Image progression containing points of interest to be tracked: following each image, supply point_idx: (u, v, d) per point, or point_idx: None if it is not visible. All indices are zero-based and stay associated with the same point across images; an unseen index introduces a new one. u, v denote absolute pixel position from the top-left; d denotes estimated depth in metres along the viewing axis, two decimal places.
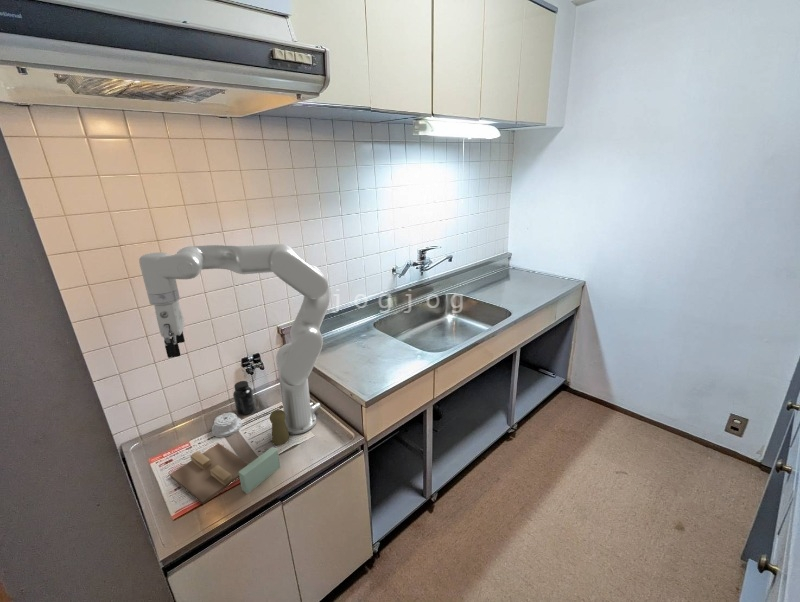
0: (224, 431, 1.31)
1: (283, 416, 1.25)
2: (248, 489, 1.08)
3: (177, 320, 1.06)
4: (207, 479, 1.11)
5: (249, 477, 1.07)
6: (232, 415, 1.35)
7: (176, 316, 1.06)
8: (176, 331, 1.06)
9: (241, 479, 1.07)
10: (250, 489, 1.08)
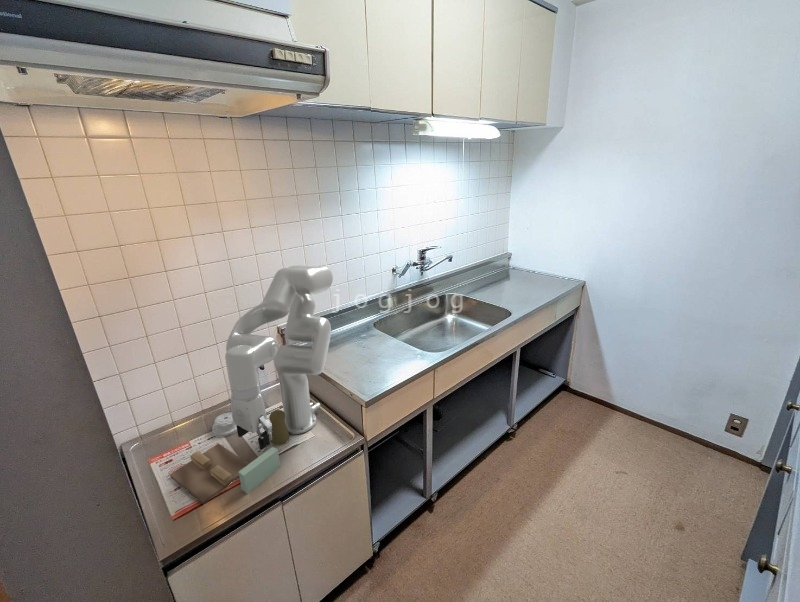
0: (224, 431, 1.31)
1: (283, 416, 1.25)
2: (248, 489, 1.08)
3: (232, 410, 1.04)
4: (207, 479, 1.11)
5: (249, 477, 1.07)
6: None
7: (232, 406, 1.03)
8: None
9: (241, 479, 1.07)
10: (250, 489, 1.08)
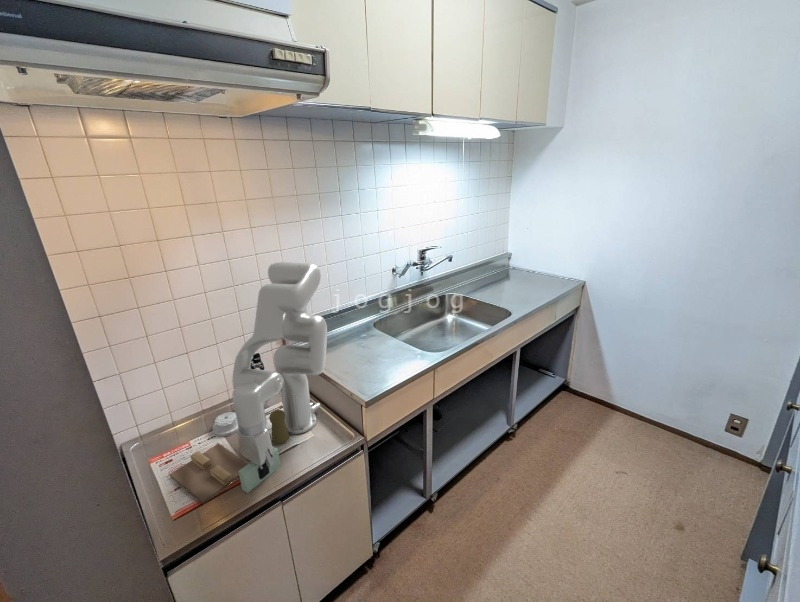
0: (225, 431, 1.31)
1: (283, 416, 1.25)
2: (248, 489, 1.08)
3: (240, 443, 1.08)
4: (207, 479, 1.11)
5: (249, 476, 1.07)
6: (233, 414, 1.35)
7: (239, 439, 1.08)
8: None
9: (241, 478, 1.07)
10: (250, 488, 1.08)
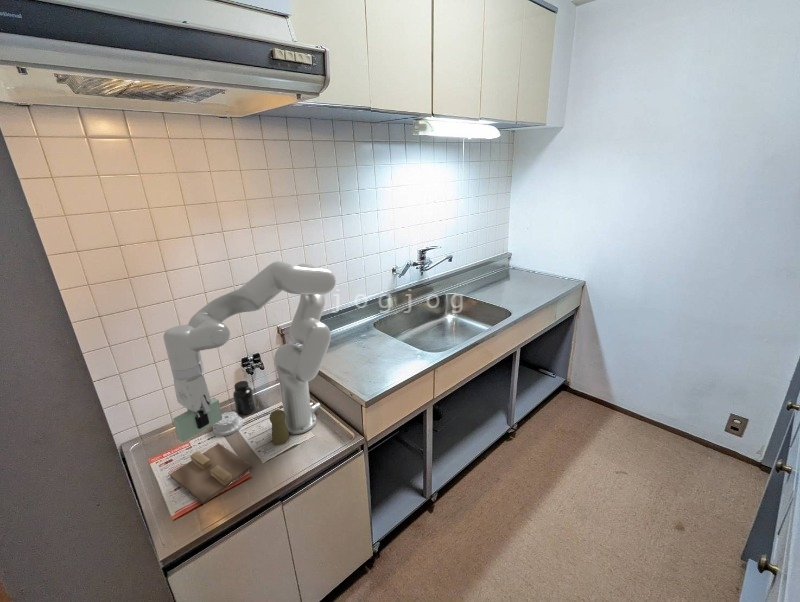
0: (225, 430, 1.31)
1: (283, 416, 1.25)
2: (184, 438, 1.04)
3: (176, 390, 1.04)
4: (207, 479, 1.11)
5: (184, 424, 1.03)
6: (233, 414, 1.35)
7: (175, 386, 1.04)
8: None
9: (176, 426, 1.03)
10: (186, 437, 1.04)
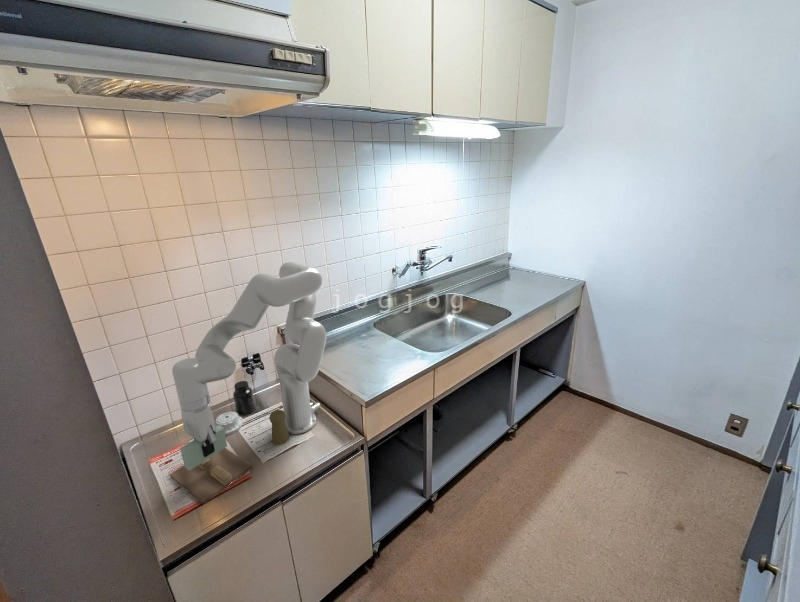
0: (225, 430, 1.31)
1: (283, 416, 1.25)
2: (190, 466, 1.07)
3: (183, 419, 1.08)
4: (207, 479, 1.11)
5: (191, 453, 1.07)
6: (233, 414, 1.35)
7: (182, 416, 1.07)
8: None
9: (183, 455, 1.06)
10: (192, 465, 1.08)
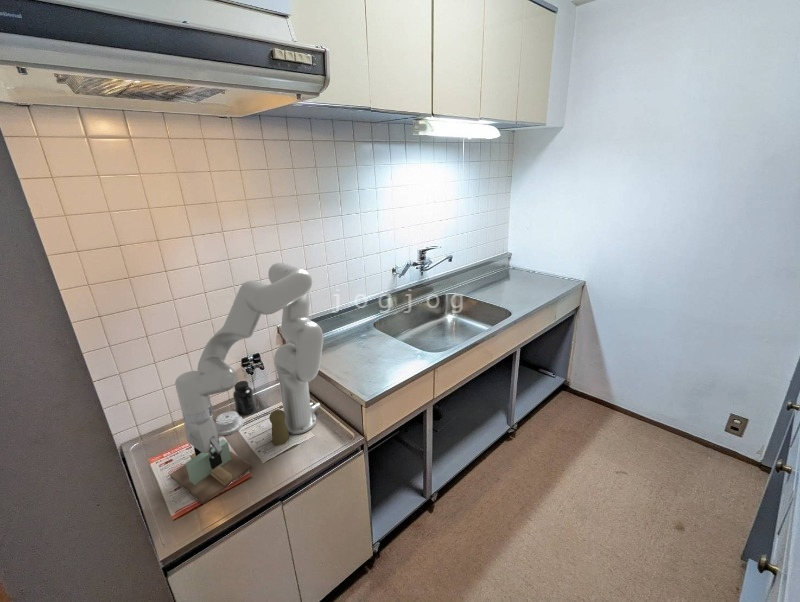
0: (226, 430, 1.31)
1: (283, 416, 1.25)
2: (195, 480, 1.09)
3: (186, 431, 1.09)
4: (207, 479, 1.11)
5: (196, 468, 1.09)
6: (234, 413, 1.35)
7: (185, 427, 1.09)
8: None
9: (188, 470, 1.08)
10: (197, 480, 1.10)
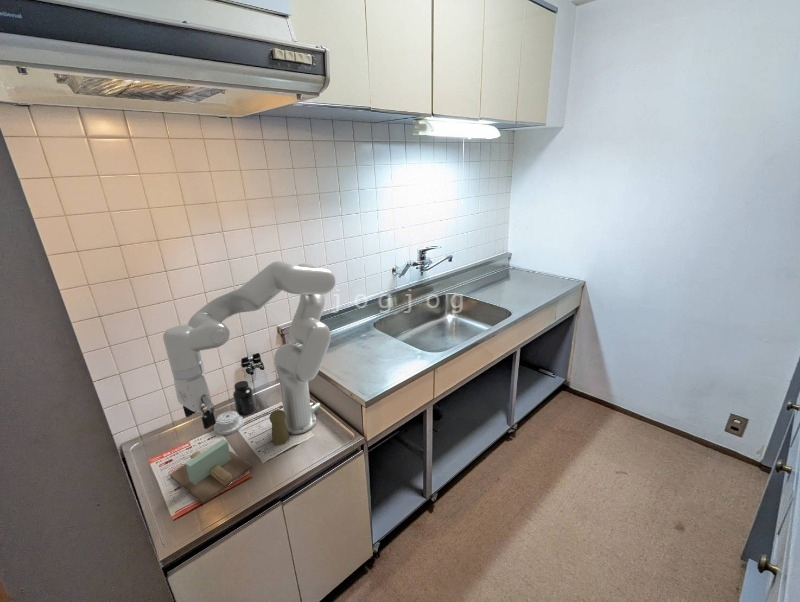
0: (226, 429, 1.32)
1: (283, 416, 1.25)
2: (195, 480, 1.09)
3: (176, 390, 1.05)
4: (207, 479, 1.11)
5: (196, 468, 1.09)
6: (234, 413, 1.36)
7: (175, 386, 1.04)
8: None
9: (188, 470, 1.08)
10: (197, 480, 1.10)
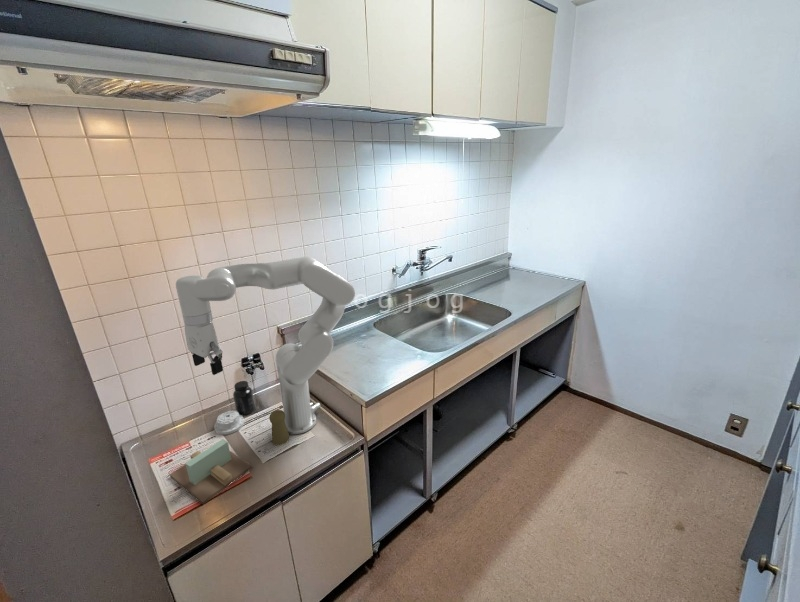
0: (226, 429, 1.32)
1: (283, 416, 1.25)
2: (195, 480, 1.09)
3: (186, 337, 1.11)
4: (207, 479, 1.11)
5: (196, 468, 1.09)
6: (234, 413, 1.36)
7: (186, 334, 1.11)
8: None
9: (188, 470, 1.08)
10: (197, 480, 1.10)
